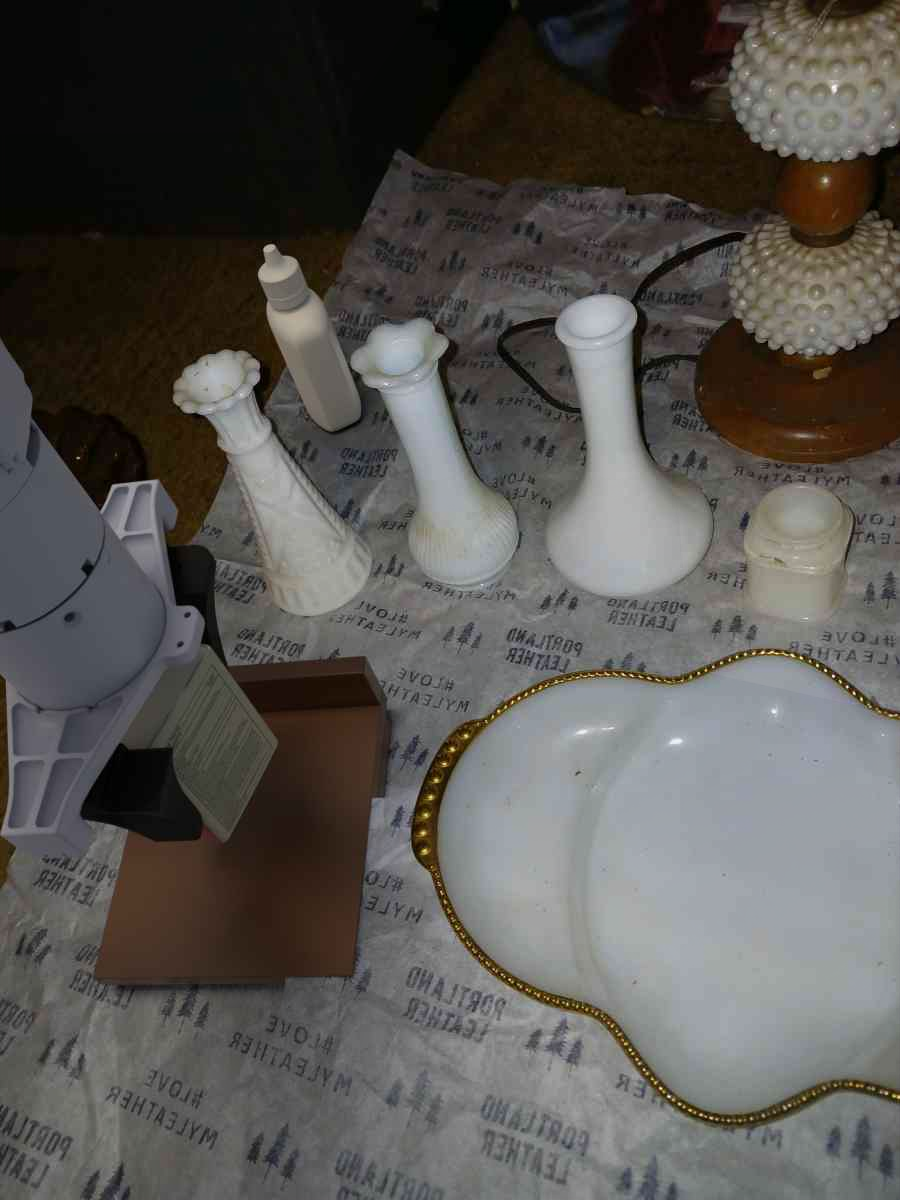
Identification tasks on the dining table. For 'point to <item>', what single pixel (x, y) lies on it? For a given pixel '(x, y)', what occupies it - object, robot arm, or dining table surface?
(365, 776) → the shelf
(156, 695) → the small box
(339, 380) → the eye dropper bottle
